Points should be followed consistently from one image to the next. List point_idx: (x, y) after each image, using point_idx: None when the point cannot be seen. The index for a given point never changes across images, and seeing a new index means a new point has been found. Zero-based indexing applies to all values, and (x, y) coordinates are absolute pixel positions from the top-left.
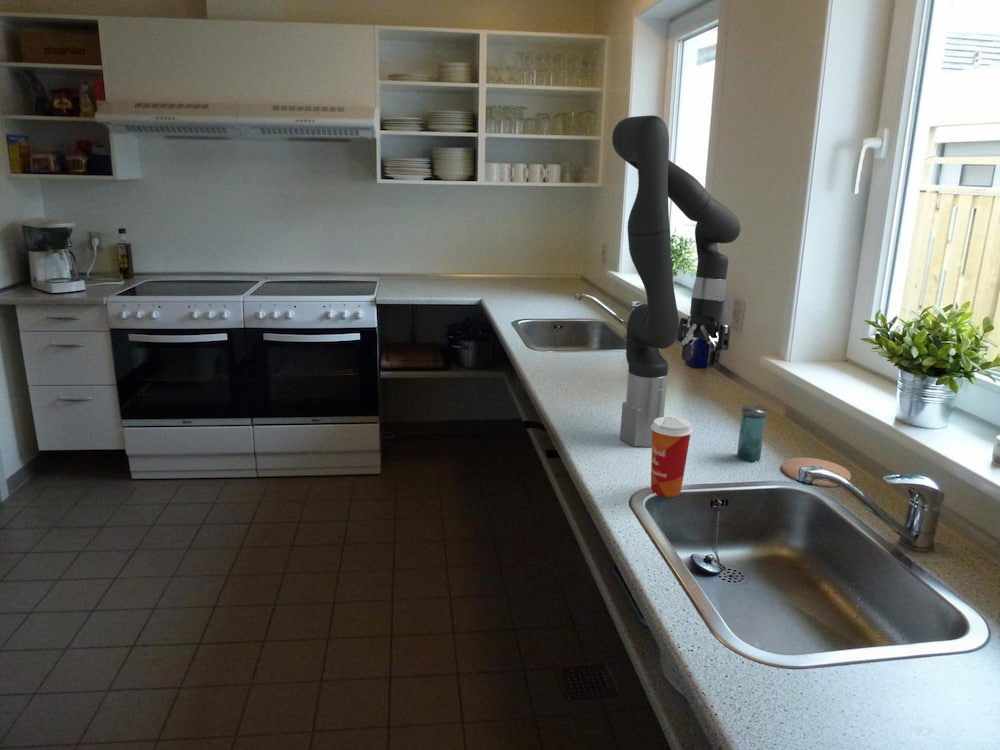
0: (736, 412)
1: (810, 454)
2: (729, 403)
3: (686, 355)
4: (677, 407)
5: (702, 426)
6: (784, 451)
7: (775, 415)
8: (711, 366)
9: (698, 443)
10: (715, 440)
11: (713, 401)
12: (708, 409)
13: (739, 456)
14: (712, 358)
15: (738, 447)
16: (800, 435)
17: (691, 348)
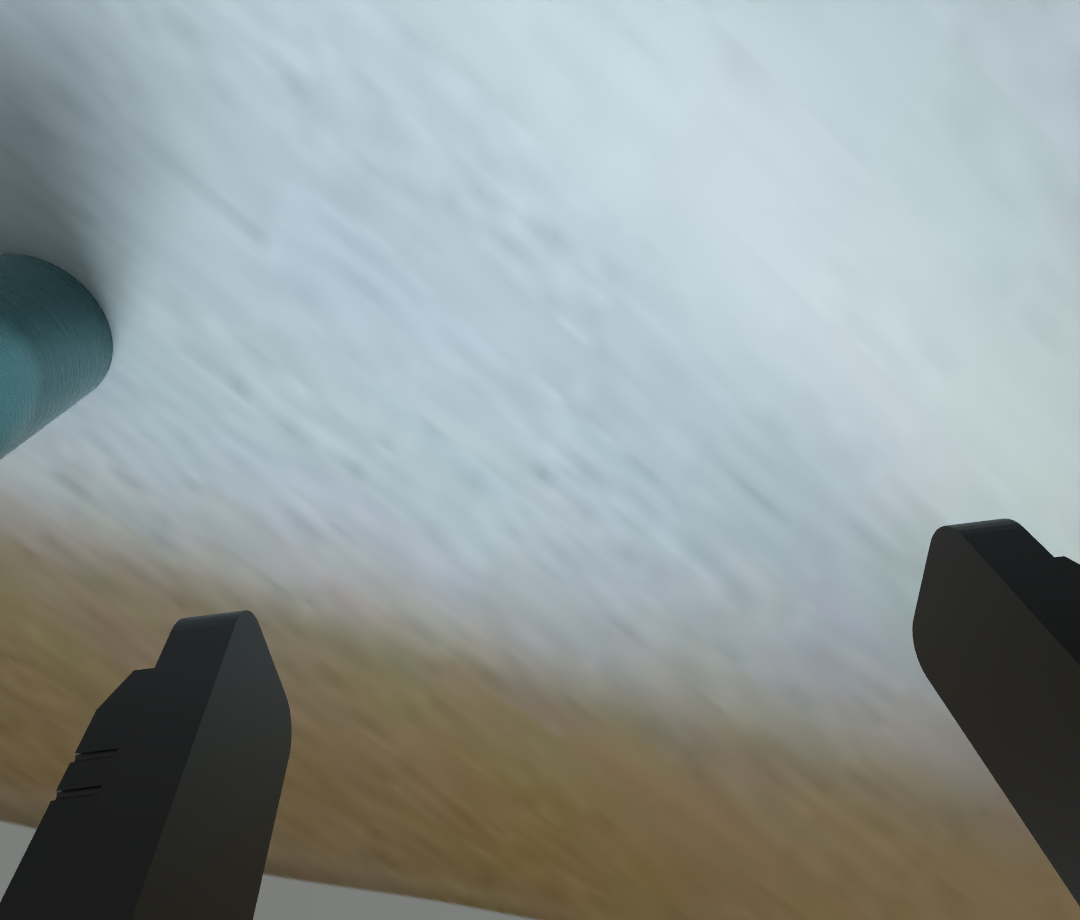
0: (746, 784)
1: (38, 689)
2: (878, 840)
3: (992, 626)
4: None
5: (654, 462)
6: (106, 605)
7: (609, 901)
8: (187, 628)
9: (380, 196)
10: (393, 358)
11: (956, 795)
12: (874, 692)
13: (4, 258)
14: (129, 779)
15: (2, 280)
16: (312, 821)
17: (1067, 869)
